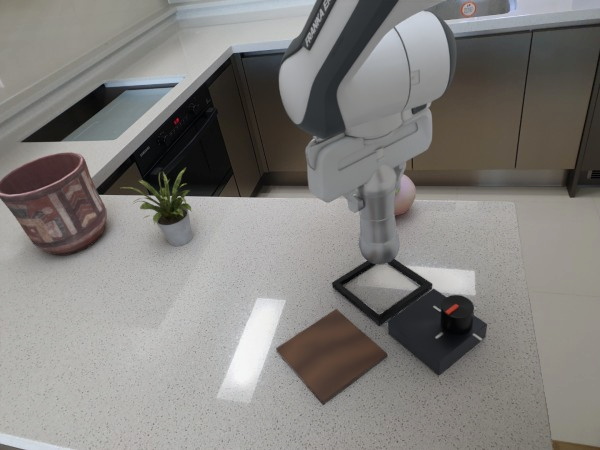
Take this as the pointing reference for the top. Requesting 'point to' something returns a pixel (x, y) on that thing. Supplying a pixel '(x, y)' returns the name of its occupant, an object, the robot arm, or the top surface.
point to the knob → (457, 314)
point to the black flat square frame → (395, 308)
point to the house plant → (170, 211)
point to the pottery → (55, 202)
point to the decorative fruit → (404, 196)
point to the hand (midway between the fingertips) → (375, 198)
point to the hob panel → (433, 333)
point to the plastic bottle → (378, 215)
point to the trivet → (331, 355)
